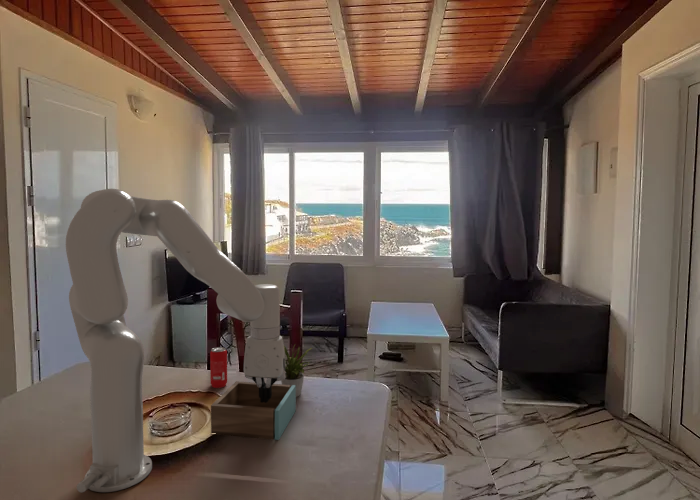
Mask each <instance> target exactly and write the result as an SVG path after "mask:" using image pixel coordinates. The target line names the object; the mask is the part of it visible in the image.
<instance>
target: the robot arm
mask: <svg viewBox="0 0 700 500" xmlns="http://www.w3.org/2000/svg"><path fill="white" fill-rule="evenodd" d="M121 233H125V234H131V235H139V236H149V237H150V236H151V237H157V238H158V239H159V240H160V242H162V244H163V245H164V246H165V248H166V249H168V250H169V251H170V253H171V254H172V255H173V256H174V258H176V260H177V261H178V262H179V264H180V265H182V267H183V268H184V270H186V272H188V273H189V274H190V275H191V276H193V277H194V278H196V279H197V280H198V281H200V282H202V283H204V284H206V285H207V286H208V287H210V288H211V289H212V290H214V292H215V293H217V296H216V301H215V302H216V305H217V308H218V310H219V311H220V312H221V313H223V314H225V315H226V316H230V317H231V318H235V319H237V320H239V321H242V322H245V323H250V324H249V326H245V329H244V331H245V332H246V333H249V336H248V337H247V338H246V341H245V348H244V354H243V355H244V357H243V374H244V378H246V379H249V380H252V382H254V383H256V384H257V387H259V398H260V402H261V403H263V402H264V403H267V402H268V400H269V399H270V398H271V396H272V385H273V384H276V382H281V381H282V380H284V379H285V378H286V376H285V373H286V372H285V366H286V363H285V360H286V354H285V351H284V346H285V344H284V340H283V337H282V336H281V333H280V331H281V329H280V327H281V318H280V317H281V315H280V312H281V307H280V306H281V304H280V303H281V300H280V299H281V294H280V293H281V292H280V291H281V290H280V287H279V286H277V285H276V284H272V283H265V284H264V283H261V284H259V283H258V284H255V285H254V283H253V281H251V279H250V277H248V276H247V275H246V273H244V271H242V270H241V268H240V267H238V266H237V264H235V263H234V262H233V261H232V260H231V259H230V258H229V257H228V256H227V255H226V254H224V252H223V251H221V250H220V249H219V247H217V245H215V243H214V242H213V241H212V239H211V238H210V237H209V235H208V234H207V233H206V232H205V230H204V229H203V228H202V227H201V226H200V224H199V223H198V221H197V220H196V219H195V217H194V216H193V215H192V214H191V212H190V211H189V210H188V209H187V208H186V207H185V206H184V205H183V204H182V203H181V202H179V201H177V200H174V199H173V200H172V199H159V200H158V199H152V198H151V199H150V198H149V199H148V198H142V197H137V196H131V195H130V194H129V193H127V192H125V190H124V191H123V190H121V189H117V188H105V189H100V190H95V191H93V192H91V193H89V194H87V195H86V196H85V197H84V199H83V200H82V202H81V204H80V208H79V209H78V211H77V212H76V213H75V214H74V216H73V218H72V220H71V221H70V223H69V225H68V228H67V231H66V236H65V252H66V258H67V262H68V267H69V273H70V277H71V281H72V285H71V287H70V289H69V293H68V302H69V307H70V310H71V314H72V318H73V322H74V325H75V326H74V327H75V330H76V332H77V338H78V340H79V343H80V347H81V349H82V352H83V354H84V355H85V356H86V358H87V360H88V361H89V363H90V390H89V391H90V393H89V394H90V398H89V401H90V417H91V418H90V419H91V420H90V421H91V422H90V423H91V424H90V425H91V447H92V448H91V450H92V453H91V454H92V464H91V465H89V469H88V470H87V472H86V473H85V476H84V479H82V480H81V481H80V482H78V483H77V485H76V490H77V491H78V492H79V493H82V494H83V493H85V492H86V491H87V490H90V491H91V492H95V493H96V492H98V493H111V492H117V491H122V490H124V489H127V488H130V487H132V486H135V485H137V484H138V483H140V482H141V481H143V480H144V479H146V478H147V477H148V476H149V475H150V473H151V472H152V469H153V461H152V459H151V458H150V457H149V456H148V455H146V454H145V452H144V450H145V449H144V413H143V412H144V411H143V409H144V406H143V405H144V404H143V402H144V401H143V372H144V363H145V348H144V345H143V342H142V340H141V339H140V337H139V336H138V335H137V333H135V332H134V331H133V330H132V329H130V328H129V327H128V326H127V324H126V320H125V316H124V314H125V313H126V311H127V309H128V304H129V299H128V298H129V297H128V292H127V290H126V286H125V282H124V280H123V276H122V272H121V268H120V264H119V258H118V257H119V256H118V253H117V252H118V251H117V244H118V239H119V237H120V235H121ZM265 379H266V380H265Z"/></svg>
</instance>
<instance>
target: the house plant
mask: <svg viewBox="0 0 700 500" xmlns="http://www.w3.org/2000/svg"><path fill="white" fill-rule="evenodd" d="M295 346H296V344H294V345H293V347H292V353H291V356H290V353H289V352H288V349H287V347H286V346H285V345H284V351H285V357H286V359H287V360H286V359H285V371H284V372H285V376H286V378H285V379H284V380H282V381H280V382H281V384H283V385H291V386H292V385H296V398H298V397H299V396H301V393H302V388H303V383H304V377H305V374H304V373H305V369H304V368H305V367H306V366H309V365H310V364H311V362H307V361H303V362H301V361H302V360H303V359H304V357H305V356H306V355H308V353H309V351H311V350H312V349H313V347H311V348H308V349H307V350H305V352H303V354H301V356H300V355H299V354H300V347H298V348H297V349H296V350H295V351H294V348H295ZM295 353H296V355H295ZM294 355H295V357H294ZM299 356H300V357H299ZM298 357H299V358H298Z"/></svg>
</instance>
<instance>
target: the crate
mask: <svg viewBox="0 0 700 500" xmlns="http://www.w3.org/2000/svg"><path fill="white" fill-rule="evenodd" d="M290 388H291V385H283V384H282V383H279V384H278V383H274V384H273V385H272V396H271V398H270V399H269V400H268V402H267V403H264V402H263V403H261V402H260V398H259V387H257V384H256V383H255V382H254V381H252V382H251V381H240V380H238V381H237V380H236V381H234V383H233V384H232V385H231V386H230V387H229V388H227V390H225V391H224V392H223V393H222V394H221V395H220V396H219V397H218V398H217V399H216V400H215V401H214V402H213V403H212V404H211V405H210V434H211V433H216V434H215V435H214V436H225V437H237V438H248V439H259V440H271V441H272V440H273V441H274V440H275V409H276V408H277V407H278V405H279V404H280V402H281V401H282V399H283V398H284V396H285V395H286V393H287V392H288V391H289V389H290Z"/></svg>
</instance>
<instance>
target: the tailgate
mask: <svg viewBox="0 0 700 500" xmlns="http://www.w3.org/2000/svg"><path fill="white" fill-rule="evenodd" d="M296 398H297V397H296V385H292V386H291V388H290V389H289V391H288V392H287V393H286V395H285V396H284V398H283V399H282V401H281V402H280V404H279V405H278V407H277V408H276V409H275V438H274V440H275V441H279V440H281V439H280V438H281V437H282V435H283V434H284V432H285V430H286V428H287V427H288V425H289V423H290V421H291V420H292V418H293V416H294V414H295V413H296V408H297V407H296V403H297V402H296V401H297V400H296Z"/></svg>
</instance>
